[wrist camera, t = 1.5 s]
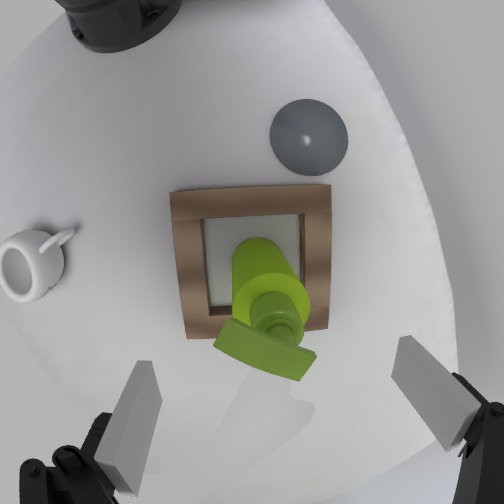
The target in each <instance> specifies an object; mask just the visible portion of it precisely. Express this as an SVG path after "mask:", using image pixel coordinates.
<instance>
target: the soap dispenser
mask: <svg viewBox="0 0 504 504" xmlns="http://www.w3.org/2000/svg"><path fill="white" fill-rule="evenodd" d="M309 313H310V299H309V296H308V293H307V291H306V289H305V288H304V286H303V285H302V283H301V282H300V280H299V278H298V277H297V275H296V274H295V272H294V271H293V269H292V268H291V266H290V265H289V263H288V262H287V260H286V259H285V257H284V256H283V254H282V253H281V251H280V250H279V248H278V247H277V246H276V245H275V244H274V243H273V242H271V241H269V240H267V239H264V238H252V239H249V240H247V241H245V242H243V243H242V244H241V245H240V246H239V247H238V248H237V249H236V251H235V253H234V255H233V259H232V315H233V318H229V319H227V321H226V322H225V324H224V326H223V328H222V329H221V331H220V333H219V335H218V337H217V339H216V340H215V342H214V344H213V346H214V347H215V348H217V349H219V350H220V351H222V352H224V353H226V354H227V355H229V356H231V357H233V358H235V359H237V360H239V361H241V362H243V363H245V364H247V365H249V366H252V367H254V368H257V369H260V370H263V371H265V372H269V373H271V374H274V375H278V376H281V377H284V378H288V379H292V380H295V381H300V379H301V378H302V377H303V375H304V374H305V373H306V371H307V370H308V369H309V367H310V366H311V365H312V363H313V362H314V360H315V359H316V358H317V356H316V354H315V352H314V351H311V350H308V349H305V348H302V347H300V346H298V345H299V344H300V342H301V340H302V338H303V336H304V325H305V323H306V321H307V319H308V317H309Z"/></svg>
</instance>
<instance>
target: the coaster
mask: <svg viewBox="0 0 504 504" xmlns="http://www.w3.org/2000/svg"><path fill="white" fill-rule="evenodd" d="M270 139H271V144H272V148H273V150H274V153H275V155H276V156H277V158H278V159H279V160H280V162H281V163H282V164H283V165H284V166H286V167H287V168H288V169H290V170H291V171H293V172H295V173H298V174H301V175H306V176H317V175H322V174H325V173H328V172H330V171H332V170H333V169H334V168H336V167H337V166H338V165H339V164H340V162H341V161H342V160H343V158H344V156H345V154H346V151H347V146H348V135H347V130H346V127H345V124H344V122H343V120H342V119H341V117H340V116H339V115H338V114H337V112H336V111H335V110H333V109H332V108H331V107H330V106H328V105H326V104H324V103H322V102H320V101H316V100H311V99H302V100H297V101H294V102H291V103H289V104H288V105H286V106H285V107H283V108H282V109H281V110H280V111H279V112H278V114H277V115H276V117H275V118H274V121H273V123H272V126H271V132H270Z"/></svg>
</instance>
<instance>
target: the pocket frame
mask: <svg viewBox="0 0 504 504" xmlns="http://www.w3.org/2000/svg"><path fill="white" fill-rule="evenodd" d="M170 206H171V218H172V229H173V239H174V249H175V258H176V267H177V275H178V283H179V290H180V298H181V305H182V312H183V318H184V325H185V331H186V337H187V339H211V338H217V337H218V335H219V333H220V331H221V329H222V328H223V326H224V324H225V322H226V321H227V319H229V318H233V315H232V306H221V307H210V298H209V288H208V278H207V267H206V256H205V244H204V232H203V219H209V218H224V217H241V216H259V215H280V214H300V282H301V283H302V285H303V286H304V288H305V289H306V291H307V293H308V296H309V299H310V313H309V317H308V319H307V321H306V323H305V325H304V331H313V330H322V329H328V319H329V303H330V281H331V241H332V207H331V185H325V184H316V185H273V186H250V187H231V188H215V189H201V190H189V191H177V192H171V193H170Z"/></svg>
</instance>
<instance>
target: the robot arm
mask: <svg viewBox="0 0 504 504" xmlns="http://www.w3.org/2000/svg"><path fill="white" fill-rule="evenodd" d="M55 1H56V2H57V3H59V4H60V5H61V6H62V7H63V8H64V9H65V10H66V13H67V17H68V20H69V23H70V27H71V30H72V33H73V35H74V36H75V38H76V39H77V40H78V41H79V42H80V43H81V44H83V45H84V46H85V47H86V48H88V49H90V50H92V51H96V52H102V53H110V52H117V51H122V50H125V49H129V48H131V47H134V46H136V45H138V44H141V43H143V42H144V41H146V40H148V39H150V38H151V37H153V36H154V35H155V34H157V33H158V32H159V31H161V30H162V29H163V28H164V27H165V26H166V25H167V24H168V23H169V22H170V21H171V20H172V18H173V17H174V16H175V14H176V13H177V11H178V9H179V7H180V4H181V1H182V0H55ZM391 377H392V379H393V380H394V381H395V383H396V384H397V385H398V387H399V388H400V389H401V391H402V392H403V393H404V395H405V396H406V397H407V399H408V400H409V401H410V403H411V404H412V405H413V407H414V408H415V409H416V411H417V412H418V414H419V415H420V416H421V418H422V419H423V420H424V422H425V423H426V424H427V426H428V427H429V429H430V430H431V431H432V433H433V434H434V436H435V437H436V438H437V440H438V441H439V442H440V444H441V445H442V447H443V448H444V450H445V451H446V452H448V451H450V450H452V449H454V448H456V447H458V446H459V445H460V443H461V441H462V439H463V438H464V439H465V440H466V444H465V445H464V447H463V448H462V450H461V452H460V453H459V455H458V457H460V456H461V454H462V453H463V457H462V463H461V468H460V473H459V479H458V483H457V488H456V492H455V495H454V499H453V503H452V504H504V405H503V404H501V403H499V402H491V403H489V402H488V401H487V400H486V399H485V398H484V397H483V396H482V395H481V394H480V393H479V392H478V391H477V390H476V389H475V388H473V386H472V385H471V384H470V383H468V381H467V380H466V379H465V378H464V377H462V376H461V375H459V374H457V373H455V372H454V373H450V372H449V371H448V370H447V369H446V368H445V367H444V366H443V365H442V364H441V363H440V362H438V361H437V360H436V359H435V358H434V357H433V356H432V355H431V354H430V353H429V352H428V351H427V350H426V349H425V348H424V347H423V346H422V345H421V344H420V343H419V342H418V341H416V340H415V339H414V338H413V337H412V336H411V335H409V336H404V337H400V338H399V344H398V349H397V353H396V358H395V362H394V367H393V371H392V375H391ZM161 404H162V398H161V394H160V391H159V387H158V384H157V380H156V376H155V373H154V369H153V365H152V361H139V360H138V361H137V363H136V365H135V367H134V369H133V371H132V373H131V375H130V377H129V379H128V381H127V384H126V386H125V388H124V390H123V392H122V394H121V396H120V399H119V401H118V403H117V405H116V407H115V410H114V412H113V414H112V413H105V412H102V413H101V414H100V415H99V416H98V417H97V418H96V419H95V420H94V422H93V424H92V426H91V429H90V430H89V433H88V435H87V437H86V439H85V441H84V443H83V445H82V447H81V449H78V448H77V447H75V446H71V445H66V446H62V447H60V448H58V449H57V450H56V451H55V452H54V454H53V456H52V462H53V463H54V465H55V466H56V467H46V466H45V465H44V464H43V462H42V461H40V460H38V459H33V458H32V459H28V460H26V461H25V462H23V464H22V465H21V467H20V480H19V481H20V482H19V488H20V489H19V492H20V504H119V503H118V501H117V500H116V498H115V497H114V496H113V494H114V491H115V489H116V490H117V491H118V493H119V494H120V495H125V496H130V497H136V498H137V496H138V493H139V488H140V484H141V480H142V476H143V472H144V468H145V464H146V460H147V456H148V452H149V448H150V444H151V440H152V436H153V433H154V429H155V425H156V422H157V418H158V414H159V411H160V407H161Z"/></svg>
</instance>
